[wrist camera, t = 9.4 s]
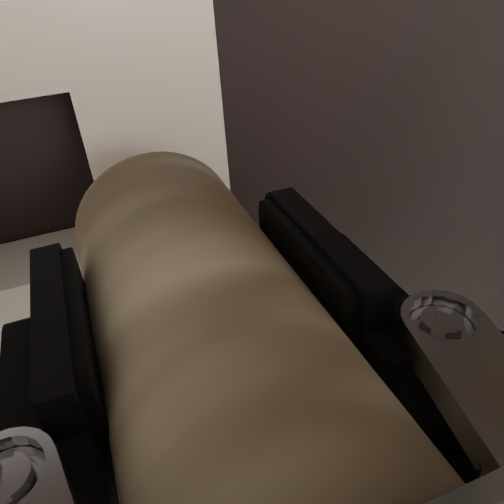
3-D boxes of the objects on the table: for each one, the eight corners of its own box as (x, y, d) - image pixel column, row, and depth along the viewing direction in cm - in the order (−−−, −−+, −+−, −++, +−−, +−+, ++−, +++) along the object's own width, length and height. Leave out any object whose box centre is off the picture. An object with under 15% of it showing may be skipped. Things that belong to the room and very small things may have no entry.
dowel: (255, 174, 12) (639, 574, 5) (201, 298, 14) (424, 756, 6) (100, 130, 10) (319, 705, 3) (57, 280, 12) (116, 931, 4)
